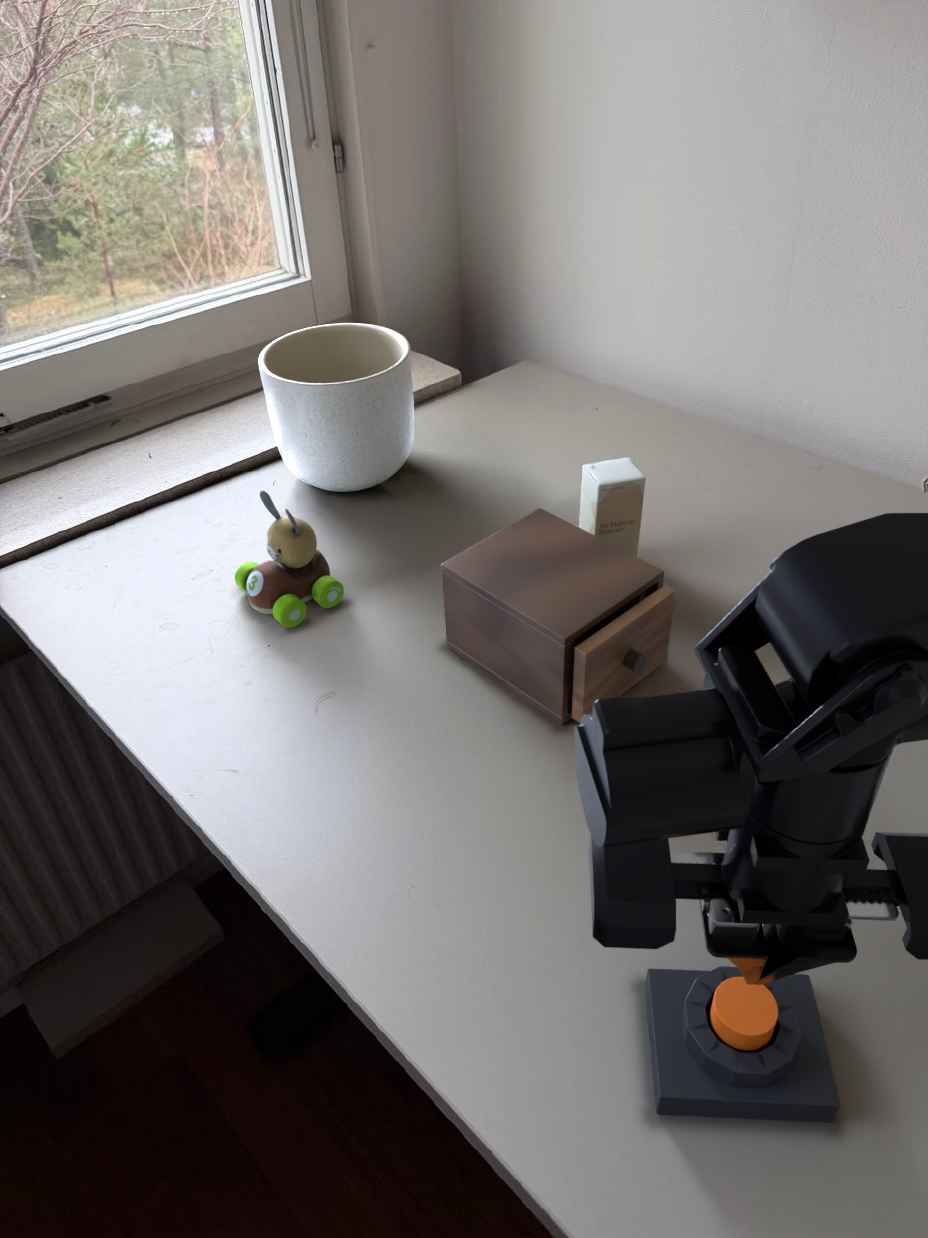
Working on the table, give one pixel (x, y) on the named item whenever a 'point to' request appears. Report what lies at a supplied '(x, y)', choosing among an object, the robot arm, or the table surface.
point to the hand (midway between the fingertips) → (752, 976)
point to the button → (743, 1014)
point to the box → (613, 502)
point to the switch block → (737, 1053)
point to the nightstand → (536, 602)
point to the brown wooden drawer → (620, 650)
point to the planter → (340, 403)
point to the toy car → (289, 571)
